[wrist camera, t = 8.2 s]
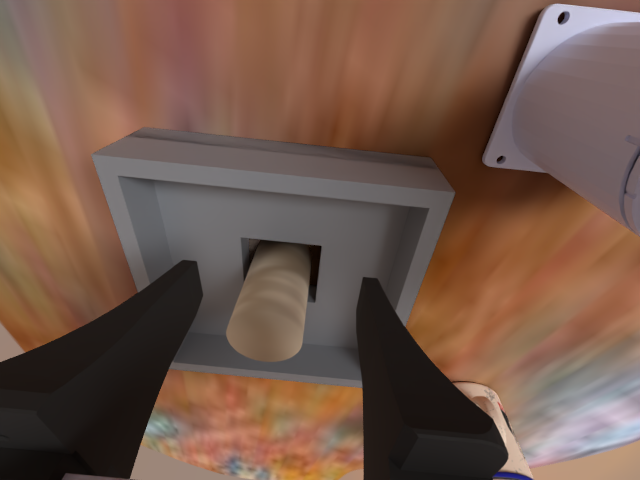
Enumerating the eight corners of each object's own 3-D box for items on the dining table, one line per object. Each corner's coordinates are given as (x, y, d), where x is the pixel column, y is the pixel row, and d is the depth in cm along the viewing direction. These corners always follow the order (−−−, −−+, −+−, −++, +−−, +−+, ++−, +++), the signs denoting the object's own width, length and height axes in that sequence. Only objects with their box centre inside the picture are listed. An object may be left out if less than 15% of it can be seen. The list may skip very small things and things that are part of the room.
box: (430, 157, 19) (455, 192, 15) (375, 339, 30) (381, 389, 26) (144, 127, 19) (91, 154, 15) (188, 320, 29) (163, 368, 25)
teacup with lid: (487, 422, 37) (538, 558, 28) (410, 419, 38) (435, 552, 28) (520, 363, 31) (603, 516, 21) (427, 361, 31) (466, 509, 22)
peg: (308, 230, 23) (296, 310, 16) (315, 275, 25) (307, 361, 19) (251, 233, 23) (216, 313, 17) (262, 277, 26) (237, 362, 19)
